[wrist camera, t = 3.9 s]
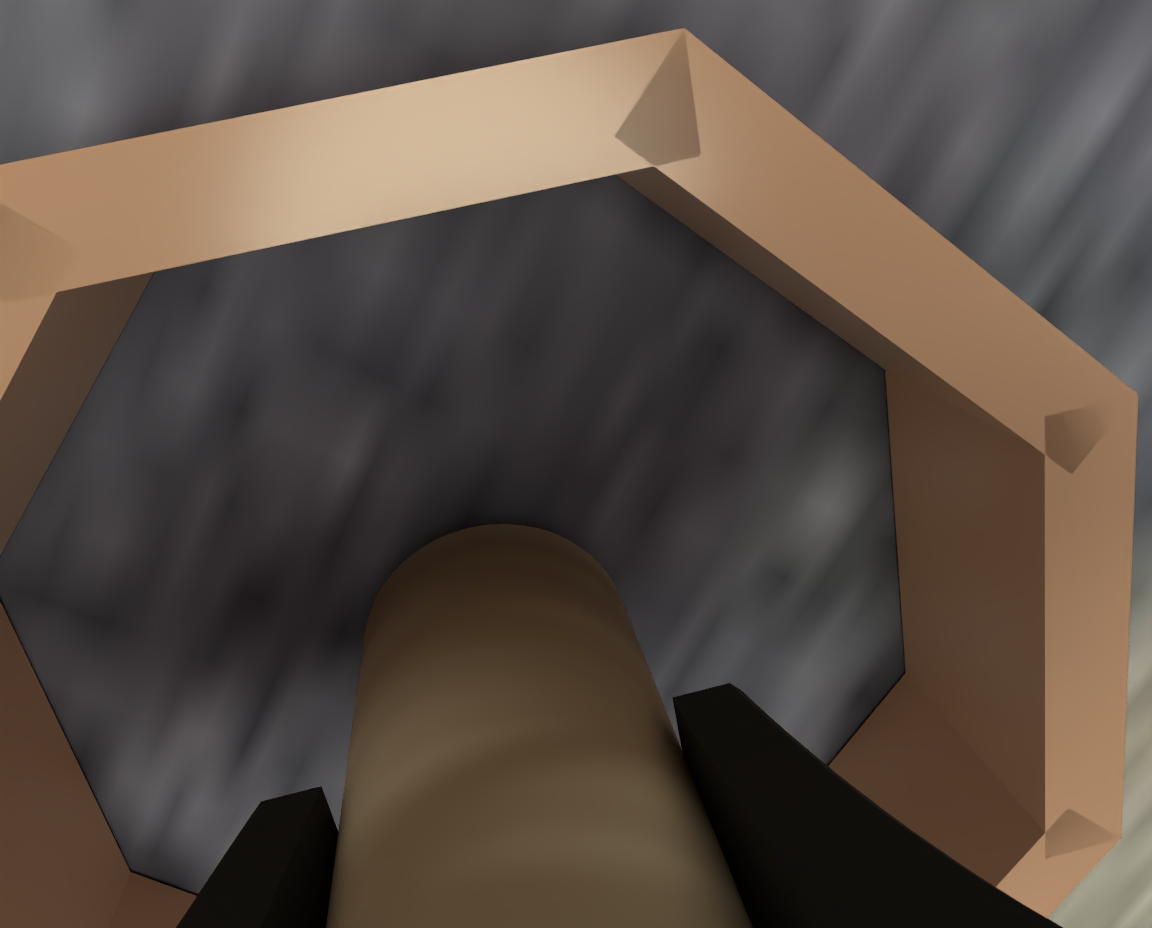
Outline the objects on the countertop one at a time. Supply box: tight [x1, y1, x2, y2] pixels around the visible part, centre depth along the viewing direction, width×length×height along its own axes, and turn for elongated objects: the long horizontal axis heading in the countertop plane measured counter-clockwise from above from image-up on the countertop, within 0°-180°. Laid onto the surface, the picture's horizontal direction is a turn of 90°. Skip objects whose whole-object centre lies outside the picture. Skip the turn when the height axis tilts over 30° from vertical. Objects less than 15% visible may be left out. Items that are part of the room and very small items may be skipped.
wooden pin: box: [326, 524, 753, 928], centre depth 8 cm, size 4×4×9 cm
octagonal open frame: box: [0, 28, 1138, 928], centre depth 11 cm, size 14×14×4 cm
